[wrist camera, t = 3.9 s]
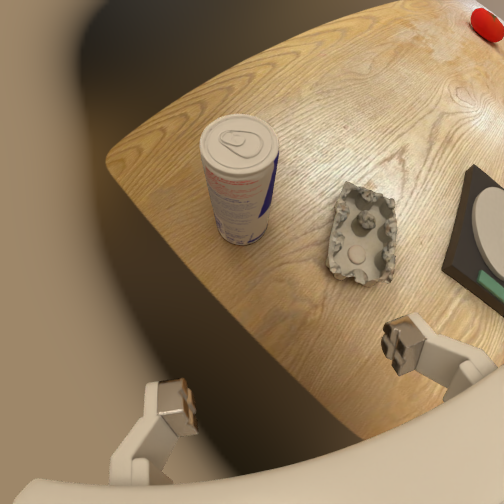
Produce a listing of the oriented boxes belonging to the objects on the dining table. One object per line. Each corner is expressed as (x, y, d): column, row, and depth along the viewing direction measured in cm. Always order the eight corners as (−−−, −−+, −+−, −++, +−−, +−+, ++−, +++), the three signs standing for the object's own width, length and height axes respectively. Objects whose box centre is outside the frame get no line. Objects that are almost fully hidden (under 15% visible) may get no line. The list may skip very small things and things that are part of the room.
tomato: (475, 24, 57) (486, 4, 48) (501, 49, 54) (514, 29, 44) (459, 21, 56) (470, -1, 46) (487, 47, 53) (501, 25, 43)
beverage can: (272, 240, 34) (290, 166, 20) (222, 251, 33) (205, 182, 19) (261, 195, 35) (269, 106, 21) (213, 205, 35) (194, 118, 21)
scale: (511, 323, 31) (527, 320, 28) (440, 270, 33) (456, 262, 30) (527, 226, 36) (540, 218, 32) (465, 171, 38) (477, 160, 34)
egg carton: (377, 293, 32) (393, 287, 28) (316, 275, 33) (325, 265, 29) (391, 211, 35) (405, 196, 31) (336, 191, 36) (345, 174, 32)
